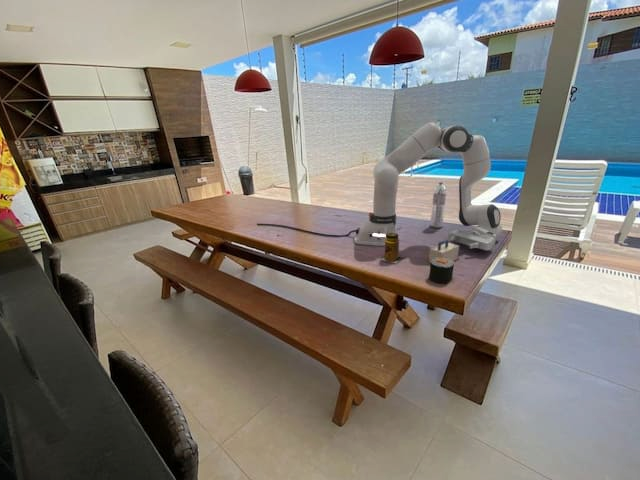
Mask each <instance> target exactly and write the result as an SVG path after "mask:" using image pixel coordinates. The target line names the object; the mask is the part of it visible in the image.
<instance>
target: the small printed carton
mask: <svg viewBox="0 0 640 480" xmlns="http://www.w3.org/2000/svg"><path fill="white" fill-rule="evenodd" d="M449 241H450V240H449V239H445V240H441V241H439V242H438V244H437V245H436V246H433V247H431V248H429V253H428V263H430V264H431V260H432V259H433V258H437V257H438V258H444V259H449V260H451V261H452V260H453V261H454V262H455V261H457V260H459V255H460V249H461V245H459V244H456V243H451V242H449Z"/></svg>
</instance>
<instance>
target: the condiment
mask: <svg viewBox="0 0 640 480" xmlns="http://www.w3.org/2000/svg"><path fill="white" fill-rule="evenodd" d="M399 249H400V240H399V234H398V233H397V232H396V233H388V234H386V240H385V246H384V257H383V258H381V260H380V261H384V262H388V263H392V264H397V263H398V262H400V261H401V260H403V258H404V256H402V255H399V252H400V251H399Z"/></svg>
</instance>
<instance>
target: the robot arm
mask: <svg viewBox="0 0 640 480" xmlns="http://www.w3.org/2000/svg"><path fill="white" fill-rule="evenodd" d="M486 141H487V140H486V138H485V137H484V136H483V135H481V134H471V132H470V131H469V130H468V129H467V128H466V127H464V126H463V125H450V126H447V127H444V128H441V127H440V125H439V124H438V123H435V122H434V121H433V122H432V121H429V122H427V123H426V124H424V125H423V126H421V127H419V128H418V129H417V130H416V131H414V132H413V133H412V134H411V135H410V136H409V137H407V139H405V140H404V141H403V142H402V143H401V144H400V145H399V146H398V147H396V148H395V149H394V150H393V151H391V152H390V153H389V154H387V155H386V156H385V157H384V158H382V159H381V160H380V161H379V162H378V163H376V164H375V166H374V167H373V170H372V176H373V179H374V184H373V185H374V186H373V201H372V202H373V205H372V206H373V207H372V208H373V209H372V210H373V211H372V212H371V211H370V212H368V221H367V222H365V223H364V224H362V225H361V226H360V227H358V228H357V229H354V230H350V231H349V232H348V233H347V234H328V233H327V234H326V233H320V232H315V231H311V230H306V229H303V228H298V227H294V226H289V225H284V224H283V225H282V224H274V223H256V226H271V227H281V228H287V229H291V230H295V231H300V232H304V233H308V234H313V235H319V236H324V237H334V238H342V237H349V236H350V235H351V233H355V236H354V239H353V242H354V243H355V244H356V245H362V246H363V245H365V246H375V247H385V240H386V234H388V233H396V234H397V229H396V224H397V213H396V207H397V196H398V195H397V194H398V187H399V178H400V177H399V176H400V175H401V174H402V173H404V172H405V171H407V170H408V169H410V168H412V167H413V166H415V165H416V164H417V163H418V162H419V161H420V160H422V158H424V157H425V156H426V155H428V153H429V152H430V151H432V150H433V149H435V148H436V147H437V148H439V149H440V150H442V151H444V152H446V153H459V154H460V157H461V159H462V164H463V172H462V175H461V176H460V177H459V180H458V181H459V182H458V197H459V198H458V201H459V202H458V203H459V210H458V220H459V222H460V223H461V224H462V225H463V226H465V227H472V226H474V227H472V228H470V229H469V230H468V231H465V230H462V229H454V230H450V231H449V232H448V233H447V234H448V235H447V240H449V242H450V243H453V244H455V242H456V243H459V244H463V245H465V246H466V245H467V248H468V249H470V250H471V249H480V250H482V251H490V250H491V249H493V248H494V247H495V245H496V240H497V238H498V237H500V235H501V234H502V231H503V225H502V223H501V212H500V209H499V208H498V207H497V206H496V205H495V204H494V203H489V204H488V203H487V204H480V205H479V204H478V205H473V203H472V187H473V186H474V185H475V184H476V183H478V182H480V181H482V180H483V179H484V178H486V177H487V175H488V174H489V173H490V172H491V170H492V169H491V168H492V163H491V156H490V151H489V146H488V144H487V142H486ZM475 226H476V227H475Z"/></svg>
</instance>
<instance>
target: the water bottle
mask: <svg viewBox="0 0 640 480" xmlns="http://www.w3.org/2000/svg"><path fill="white" fill-rule="evenodd" d="M443 183H444V182H443V181H439V182H438V185H436V186H435V187H434V189H433V192H432V193H433V195H432V203H431V211H430V221H429V222H430V225H429V226H430V227H431V228H433V229H441V228H442V227H443V226H444V217H445V209H446V199H447V188H446V187H445V186H444V185H443Z"/></svg>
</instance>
